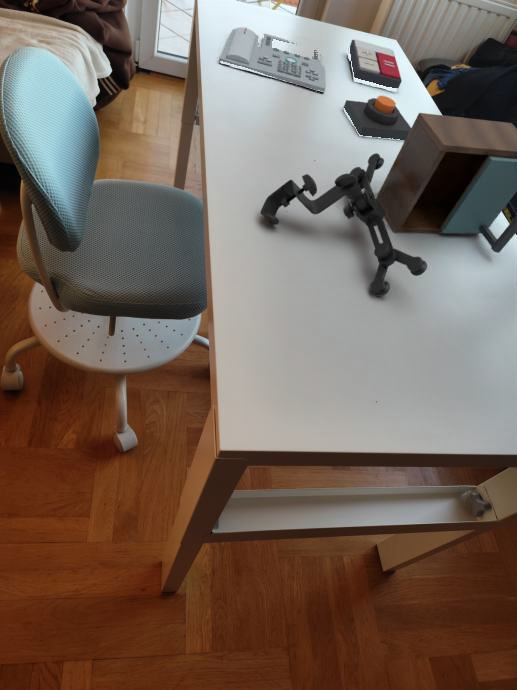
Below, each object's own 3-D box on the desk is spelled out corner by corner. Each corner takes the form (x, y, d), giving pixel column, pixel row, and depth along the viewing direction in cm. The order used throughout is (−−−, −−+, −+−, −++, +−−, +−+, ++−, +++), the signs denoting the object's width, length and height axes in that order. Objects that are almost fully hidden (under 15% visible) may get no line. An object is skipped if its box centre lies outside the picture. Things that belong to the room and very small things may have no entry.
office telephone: (220, 51, 100) (232, 17, 113) (218, 65, 102) (230, 29, 115) (327, 82, 103) (328, 45, 115) (323, 94, 105) (324, 56, 117)
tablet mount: (328, 325, 74) (429, 270, 66) (269, 280, 65) (378, 208, 57) (303, 212, 90) (382, 155, 82) (253, 162, 81) (336, 93, 72)
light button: (387, 104, 101) (391, 96, 100) (395, 115, 99) (398, 107, 98) (370, 103, 100) (374, 94, 98) (378, 113, 98) (381, 105, 96)
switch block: (390, 115, 107) (398, 97, 104) (409, 141, 101) (418, 123, 98) (342, 110, 103) (349, 91, 100) (359, 137, 98) (367, 118, 94)
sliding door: (482, 230, 85) (535, 160, 75) (501, 257, 82) (560, 187, 71) (440, 230, 82) (489, 156, 72) (458, 257, 79) (513, 184, 68)
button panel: (359, 66, 110) (353, 35, 118) (351, 84, 113) (346, 53, 122) (403, 78, 112) (394, 47, 120) (395, 96, 115) (387, 64, 124)
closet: (457, 203, 91) (511, 122, 79) (479, 233, 86) (540, 153, 74) (374, 200, 85) (419, 112, 73) (393, 232, 80) (444, 145, 68)
